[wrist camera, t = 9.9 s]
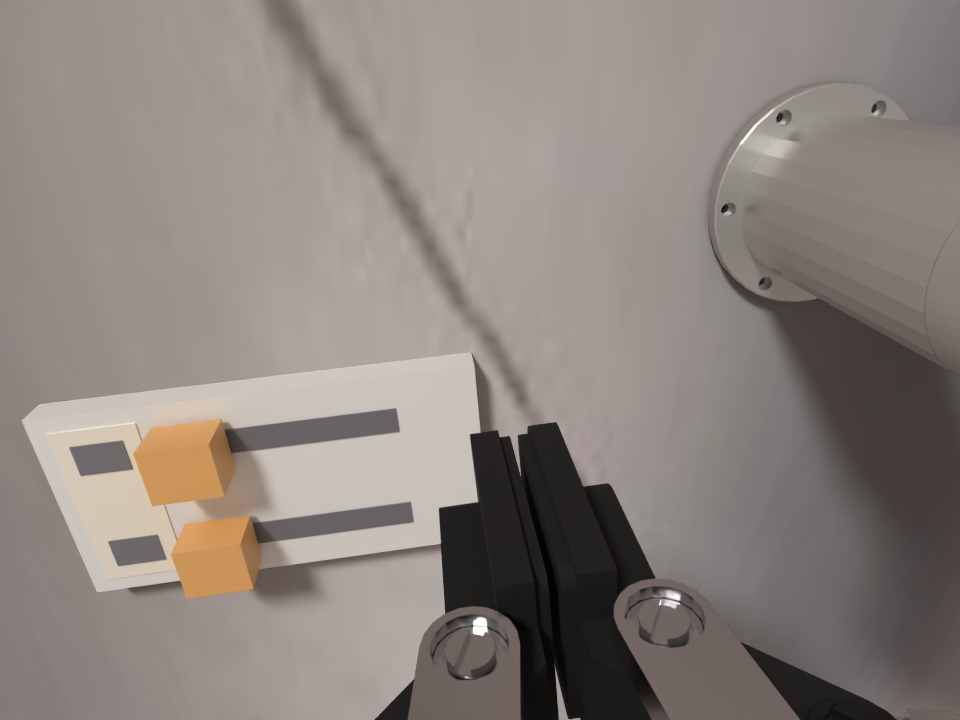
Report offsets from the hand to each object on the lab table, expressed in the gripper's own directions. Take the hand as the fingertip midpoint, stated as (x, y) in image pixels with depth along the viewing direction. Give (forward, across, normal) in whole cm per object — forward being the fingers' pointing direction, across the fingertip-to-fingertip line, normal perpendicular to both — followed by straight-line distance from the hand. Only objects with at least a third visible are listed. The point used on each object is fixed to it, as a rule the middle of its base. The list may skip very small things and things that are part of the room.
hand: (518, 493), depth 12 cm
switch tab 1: (+24, +17, +12) cm, 31 cm away
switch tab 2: (+24, +17, +19) cm, 35 cm away
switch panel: (+26, +13, +15) cm, 33 cm away
